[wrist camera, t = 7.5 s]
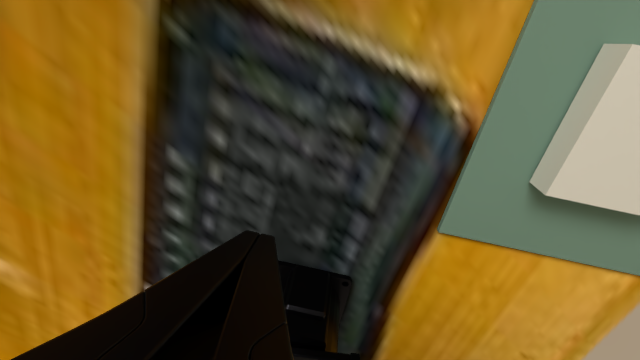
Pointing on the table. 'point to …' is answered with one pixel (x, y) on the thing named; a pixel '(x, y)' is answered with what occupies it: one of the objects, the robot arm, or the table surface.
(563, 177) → the block
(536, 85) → the mat
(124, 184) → the table surface
